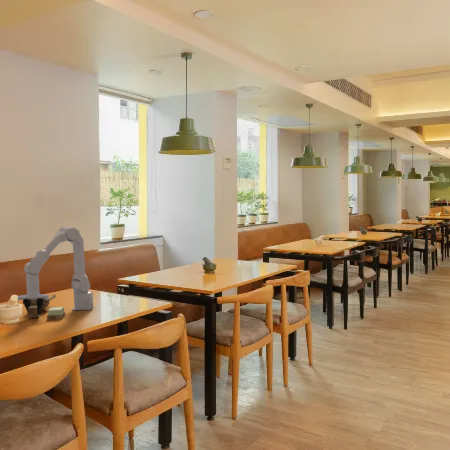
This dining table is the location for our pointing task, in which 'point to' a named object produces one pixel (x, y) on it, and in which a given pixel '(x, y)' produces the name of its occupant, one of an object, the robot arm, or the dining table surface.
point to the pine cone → (45, 303)
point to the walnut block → (33, 312)
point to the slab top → (56, 311)
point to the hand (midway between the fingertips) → (34, 313)
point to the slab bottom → (55, 316)
